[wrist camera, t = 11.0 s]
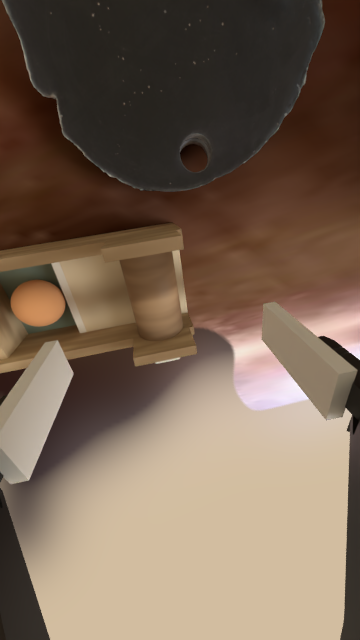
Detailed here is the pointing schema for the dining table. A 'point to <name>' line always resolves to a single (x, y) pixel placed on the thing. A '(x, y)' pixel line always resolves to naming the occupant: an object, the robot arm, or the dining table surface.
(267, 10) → the board
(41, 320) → the ball
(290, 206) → the dining table surface
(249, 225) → the dining table surface
